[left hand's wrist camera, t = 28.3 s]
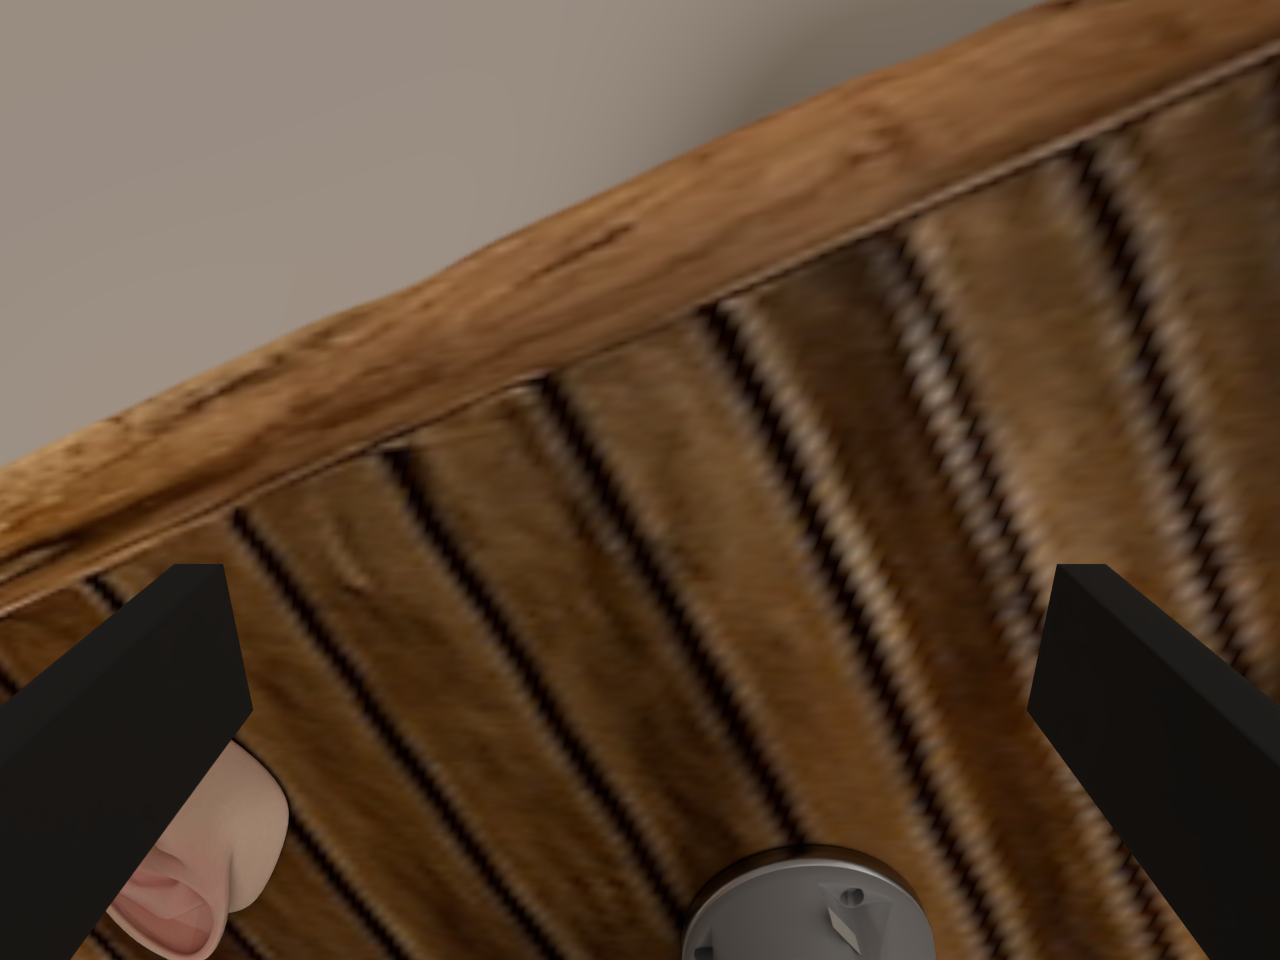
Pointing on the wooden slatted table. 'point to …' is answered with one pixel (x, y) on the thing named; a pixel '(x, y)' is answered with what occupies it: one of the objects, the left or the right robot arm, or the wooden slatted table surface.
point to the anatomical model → (206, 860)
